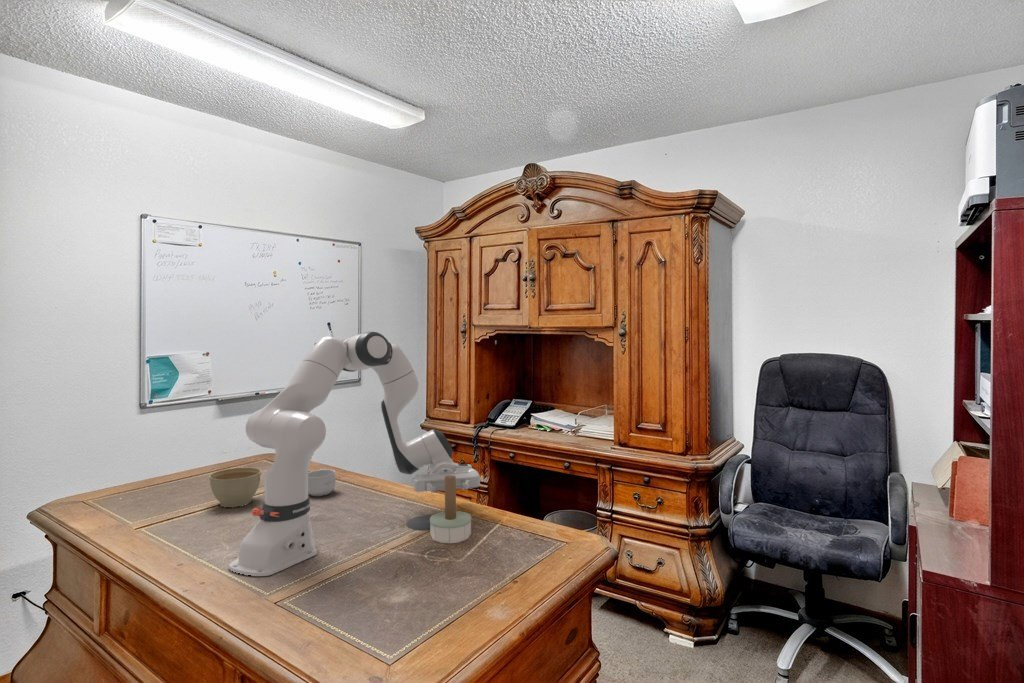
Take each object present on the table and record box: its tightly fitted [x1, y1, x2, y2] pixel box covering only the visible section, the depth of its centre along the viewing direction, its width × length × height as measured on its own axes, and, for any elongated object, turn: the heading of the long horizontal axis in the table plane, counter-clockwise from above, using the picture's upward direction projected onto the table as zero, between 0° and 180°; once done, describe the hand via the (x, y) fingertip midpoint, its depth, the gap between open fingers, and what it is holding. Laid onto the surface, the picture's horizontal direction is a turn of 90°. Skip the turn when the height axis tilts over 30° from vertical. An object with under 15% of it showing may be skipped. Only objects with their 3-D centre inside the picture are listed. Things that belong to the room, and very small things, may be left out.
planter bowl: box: [208, 467, 262, 508], centre depth 189 cm, size 16×16×11 cm
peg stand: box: [430, 475, 472, 528], centre depth 158 cm, size 12×12×13 cm
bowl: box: [429, 521, 472, 544], centre depth 158 cm, size 11×11×5 cm
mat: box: [405, 514, 433, 532], centre depth 168 cm, size 13×13×1 cm
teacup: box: [308, 468, 336, 497], centre depth 201 cm, size 14×11×8 cm
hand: (449, 488), depth 160 cm, fingers open, 8 cm apart
